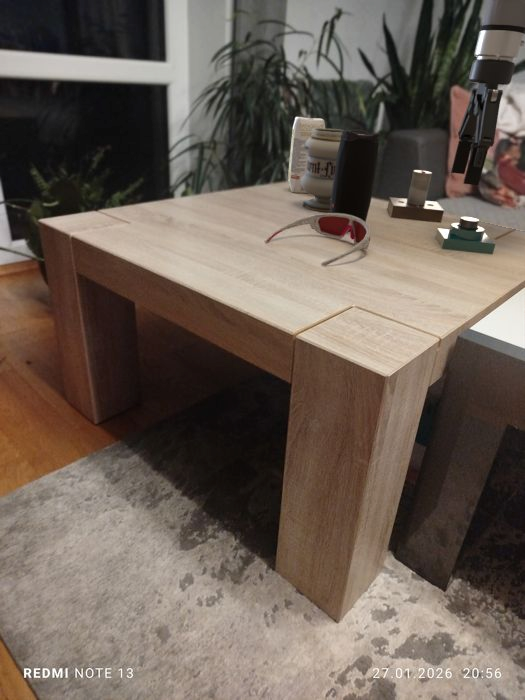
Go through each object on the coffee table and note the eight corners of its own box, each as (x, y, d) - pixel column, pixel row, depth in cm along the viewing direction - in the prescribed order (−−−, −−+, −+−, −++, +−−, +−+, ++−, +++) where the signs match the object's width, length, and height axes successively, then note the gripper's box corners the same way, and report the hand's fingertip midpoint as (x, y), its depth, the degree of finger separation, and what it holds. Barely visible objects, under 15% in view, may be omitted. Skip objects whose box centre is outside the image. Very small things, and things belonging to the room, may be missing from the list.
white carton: (319, 194, 140) (328, 120, 131) (288, 192, 139) (295, 117, 130) (315, 189, 146) (323, 118, 137) (286, 187, 146) (292, 115, 137)
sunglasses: (387, 251, 96) (389, 226, 93) (326, 282, 87) (326, 256, 84) (321, 229, 107) (321, 205, 104) (261, 254, 98) (259, 230, 95)
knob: (405, 200, 126) (412, 168, 123) (423, 202, 126) (430, 169, 122) (407, 204, 122) (414, 170, 119) (426, 206, 122) (433, 172, 118)
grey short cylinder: (474, 227, 104) (476, 217, 103) (478, 232, 101) (481, 222, 100) (456, 225, 104) (459, 215, 103) (460, 230, 101) (462, 220, 100)
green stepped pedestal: (482, 243, 107) (487, 224, 105) (492, 254, 100) (498, 234, 98) (434, 238, 108) (439, 219, 106) (441, 249, 101) (446, 229, 99)
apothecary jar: (289, 202, 129) (296, 126, 120) (327, 200, 134) (337, 127, 125) (314, 214, 119) (325, 132, 111) (355, 211, 125) (367, 133, 116)
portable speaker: (329, 230, 107) (343, 131, 98) (325, 219, 115) (337, 127, 106) (369, 233, 107) (386, 135, 98) (362, 222, 116) (377, 130, 106)
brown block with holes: (433, 213, 130) (436, 201, 128) (441, 223, 121) (444, 209, 119) (387, 208, 131) (389, 196, 129) (390, 217, 122) (393, 204, 120)
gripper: (537, 58, 82) (498, 191, 92) (498, 63, 104) (469, 171, 114) (490, 54, 83) (456, 187, 93) (461, 60, 104) (436, 167, 114)
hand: (463, 178), depth 103 cm, fingers open, 13 cm apart
